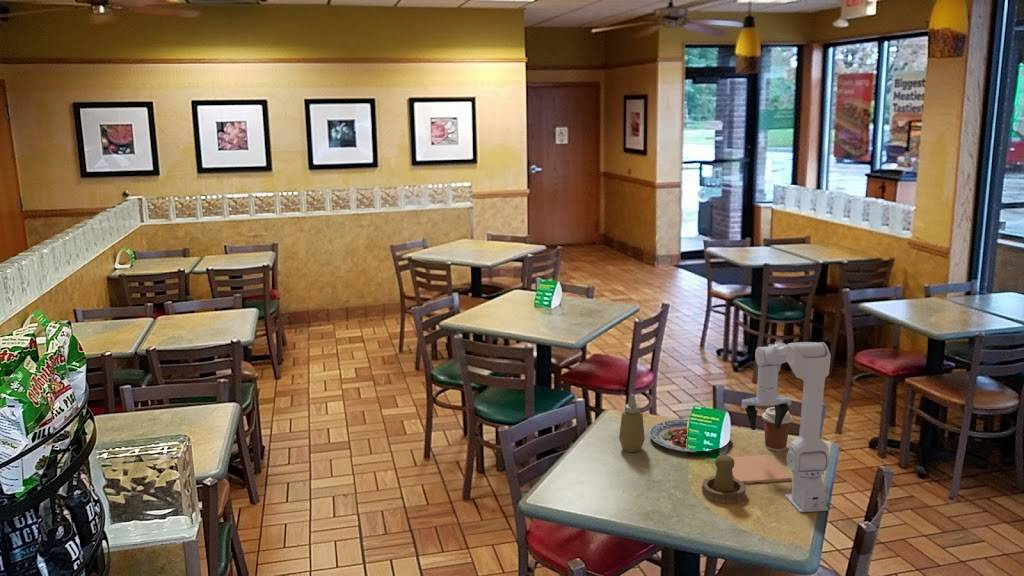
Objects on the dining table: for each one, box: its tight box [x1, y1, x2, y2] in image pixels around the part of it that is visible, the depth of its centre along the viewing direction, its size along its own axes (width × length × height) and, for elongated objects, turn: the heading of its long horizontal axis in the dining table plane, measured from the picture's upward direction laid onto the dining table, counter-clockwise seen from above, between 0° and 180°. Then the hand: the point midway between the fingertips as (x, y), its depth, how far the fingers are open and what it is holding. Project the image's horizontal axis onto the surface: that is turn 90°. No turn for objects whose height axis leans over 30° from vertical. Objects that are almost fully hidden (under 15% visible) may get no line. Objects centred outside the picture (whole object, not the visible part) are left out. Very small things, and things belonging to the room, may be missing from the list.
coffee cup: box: [761, 406, 793, 452], centre depth 257 cm, size 9×9×12 cm
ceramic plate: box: [648, 418, 732, 453], centre depth 265 cm, size 26×26×3 cm
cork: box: [712, 454, 735, 493], centre depth 228 cm, size 6×6×11 cm
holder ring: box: [701, 475, 747, 504], centre depth 229 cm, size 11×11×2 cm
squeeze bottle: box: [618, 393, 645, 453], centre depth 257 cm, size 8×8×18 cm
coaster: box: [731, 454, 793, 485], centre depth 243 cm, size 16×16×1 cm
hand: (765, 428), depth 248 cm, fingers open, 7 cm apart
